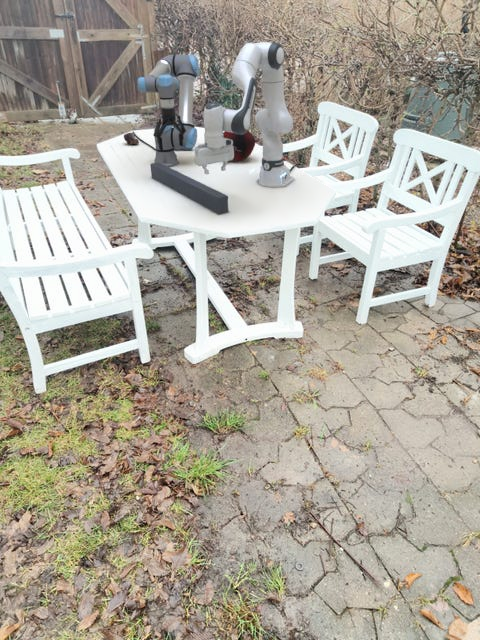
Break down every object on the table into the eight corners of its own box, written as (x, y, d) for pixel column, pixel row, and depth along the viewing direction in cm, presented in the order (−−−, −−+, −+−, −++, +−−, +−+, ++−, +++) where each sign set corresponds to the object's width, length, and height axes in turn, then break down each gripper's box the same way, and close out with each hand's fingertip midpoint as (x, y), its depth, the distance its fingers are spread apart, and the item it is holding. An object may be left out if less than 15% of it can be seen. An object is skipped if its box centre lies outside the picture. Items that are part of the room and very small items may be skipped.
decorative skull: (216, 132, 305) (216, 129, 282) (250, 124, 304) (252, 121, 281) (223, 164, 312) (223, 164, 288) (256, 157, 311) (259, 156, 288)
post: (151, 177, 270) (150, 163, 265) (160, 176, 272) (158, 162, 268) (218, 214, 220) (218, 198, 215) (228, 212, 223) (227, 195, 218)
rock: (136, 143, 344) (123, 145, 340) (134, 131, 341) (121, 132, 336) (140, 144, 335) (127, 145, 331) (138, 132, 331) (125, 133, 327)
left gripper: (151, 111, 237) (155, 152, 249) (190, 105, 250) (193, 145, 262) (144, 109, 242) (149, 149, 254) (183, 103, 255) (185, 143, 267)
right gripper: (198, 146, 200) (199, 177, 208) (235, 140, 210) (236, 170, 218) (191, 143, 205) (193, 174, 212) (228, 137, 214) (228, 167, 222)
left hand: (171, 147), depth 258 cm, fingers open, 13 cm apart
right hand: (215, 172), depth 215 cm, fingers open, 8 cm apart
